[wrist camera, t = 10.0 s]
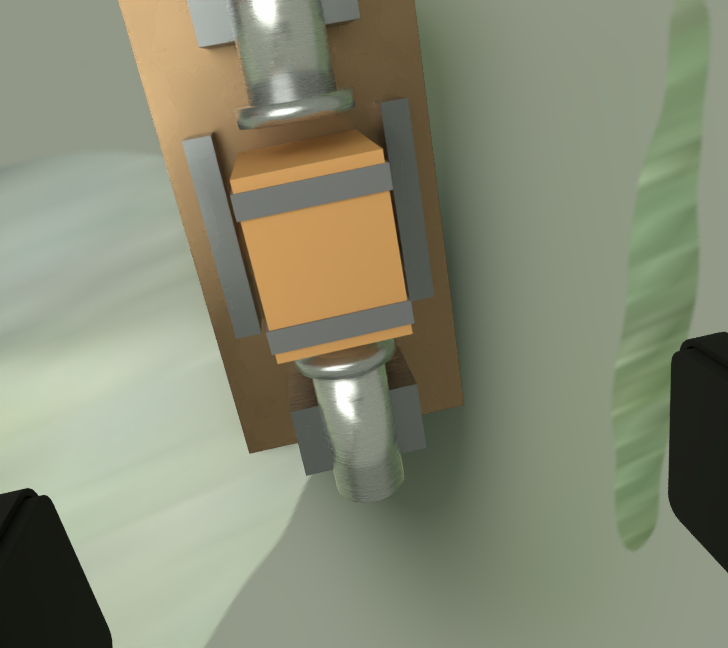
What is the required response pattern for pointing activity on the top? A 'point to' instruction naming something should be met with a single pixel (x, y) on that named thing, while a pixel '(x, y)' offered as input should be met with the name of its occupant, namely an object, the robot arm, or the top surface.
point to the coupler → (322, 244)
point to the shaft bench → (225, 235)
